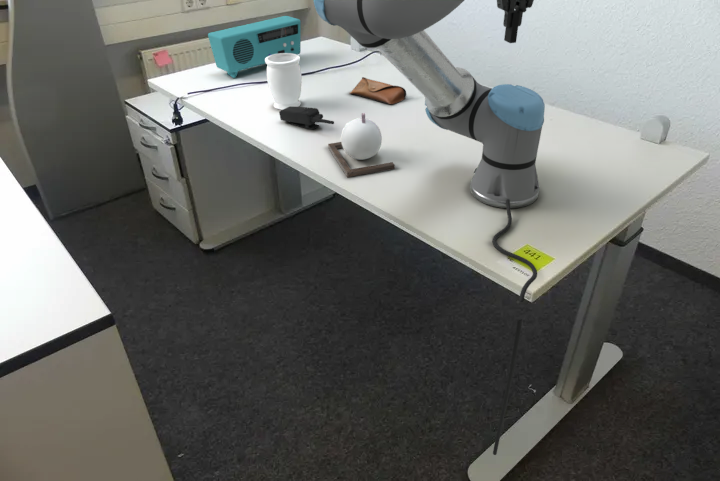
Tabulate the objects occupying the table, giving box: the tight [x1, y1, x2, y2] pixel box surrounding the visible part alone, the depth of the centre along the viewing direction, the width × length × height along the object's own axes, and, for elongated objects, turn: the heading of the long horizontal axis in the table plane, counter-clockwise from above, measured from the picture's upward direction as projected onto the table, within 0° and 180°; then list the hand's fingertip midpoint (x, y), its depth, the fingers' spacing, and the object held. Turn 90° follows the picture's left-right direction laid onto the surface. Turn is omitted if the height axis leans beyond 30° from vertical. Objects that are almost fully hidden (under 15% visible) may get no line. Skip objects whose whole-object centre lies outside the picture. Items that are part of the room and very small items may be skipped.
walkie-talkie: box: [278, 106, 335, 130], centre depth 156 cm, size 6×6×20 cm
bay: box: [327, 141, 396, 178], centre depth 141 cm, size 18×12×1 cm
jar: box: [265, 53, 303, 111], centre depth 168 cm, size 11×10×15 cm
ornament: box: [340, 112, 383, 161], centre depth 138 cm, size 10×10×12 cm
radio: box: [207, 15, 302, 79], centre depth 200 cm, size 34×10×15 cm, turn 132°
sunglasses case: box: [348, 76, 407, 105], centre depth 176 cm, size 18×7×7 cm, turn 52°
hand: (510, 41), depth 125 cm, fingers closed
